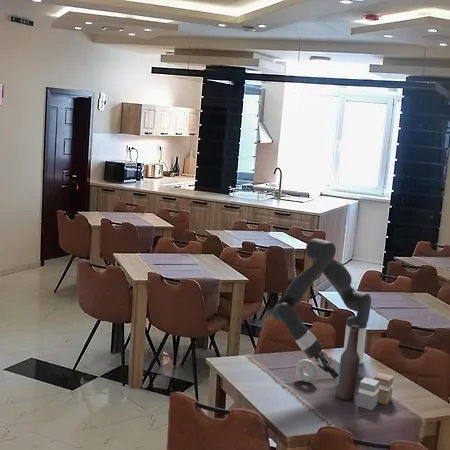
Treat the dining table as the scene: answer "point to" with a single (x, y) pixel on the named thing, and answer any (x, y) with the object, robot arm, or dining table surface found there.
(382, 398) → the tan block
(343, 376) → the beer bottle
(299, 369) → the donut
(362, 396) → the slate block
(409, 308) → the dining table surface
